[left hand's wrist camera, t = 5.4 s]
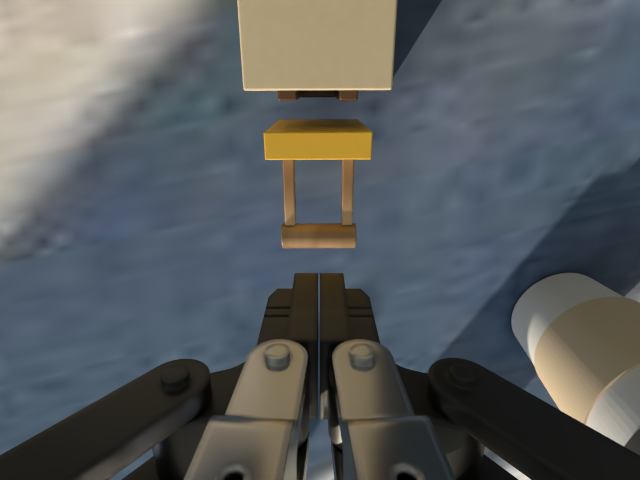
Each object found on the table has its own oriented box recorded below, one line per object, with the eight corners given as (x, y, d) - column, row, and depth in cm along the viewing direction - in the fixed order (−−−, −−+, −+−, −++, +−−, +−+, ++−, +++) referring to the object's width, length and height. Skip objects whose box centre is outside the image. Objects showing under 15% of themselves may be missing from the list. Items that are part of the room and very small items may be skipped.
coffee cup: (639, 322, 30) (925, 531, 16) (531, 382, 32) (699, 615, 18) (588, 234, 27) (877, 390, 13) (474, 305, 29) (618, 507, 15)
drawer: (354, 227, 26) (366, 274, 20) (282, 228, 26) (271, 275, 20) (368, -223, 18) (395, -395, 12) (264, -223, 18) (235, -395, 12)
